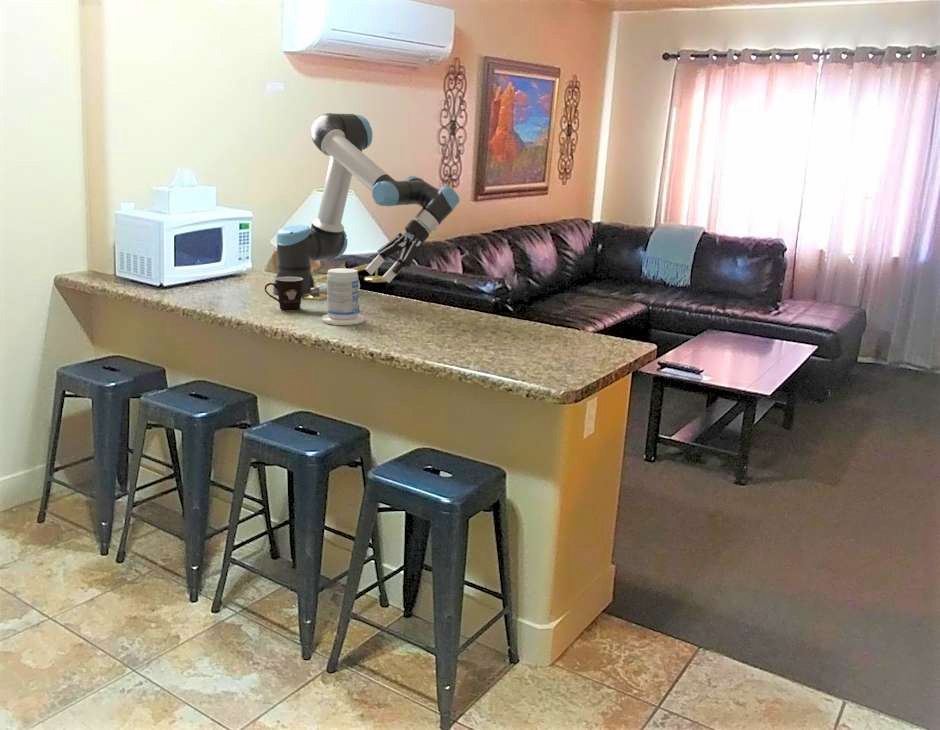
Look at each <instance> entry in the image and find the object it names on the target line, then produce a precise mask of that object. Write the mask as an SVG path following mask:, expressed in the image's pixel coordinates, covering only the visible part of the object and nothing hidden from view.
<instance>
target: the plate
mask: <svg viewBox="0 0 940 730" xmlns="http://www.w3.org/2000/svg"><path fill="white" fill-rule="evenodd" d="M321 322H322V323H323V322H324V323H323V324H325V323H327V324H326V325H329V324H332V325H331V326H336V325H351V326H354V325H353V324H358V325H360V324H359V323H361V324H363V323H365V317H364V315H361V314H358V317H356V318H354V319H346V320H340V319H332V318H330V317H329V316H328V313H327V314H323V315H322V316H321Z"/></svg>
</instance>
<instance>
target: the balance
mask: <svg viewBox="0 0 940 730" xmlns="http://www.w3.org/2000/svg"><path fill="white" fill-rule="evenodd" d="M370 263H371V262H369V263H365V264H362V265H359V266H355V267H351V268H350V269H355V270H357V271H358V272H360V271H364V270H365V269H366V268H367V267H368V265H369V264H370ZM378 269H379V268H378ZM378 269H377V270H376V271H375V272H374V275H367V276H365V277H364V278H363V279H364V281H365V282H369V283H388V282H387V281H386V280H385V279H384V278H383V276H384V275H379V274H378ZM313 279H314V287H312V288H310V293H309V294H304V295H302V296H301V299H302V300H304V301H305V300H306V301H324V300H327V293H326V294H325V293H322V292H321V293H320V291H321V290H320V287H317V283H321V282H324V281H327V274H326V275H321V276H318V277H315V278H313ZM358 312H360V304H358Z"/></svg>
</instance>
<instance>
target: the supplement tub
mask: <svg viewBox="0 0 940 730" xmlns="http://www.w3.org/2000/svg"><path fill="white" fill-rule="evenodd" d="M326 275H327V280H326V284H327V287H326V288H327V289H326V290H327V291H326V292H327V293H326V295H327V299H326V300H327V314H328V316H329V317H330V318H332V319H340V320H346V319H354V318H356V317H358V315H359V311H358V305H359V271H357V270H355V269H351V268H345V267H344V268H341V267H340V268H330V269H328V270H327V273H326Z"/></svg>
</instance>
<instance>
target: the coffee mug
mask: <svg viewBox="0 0 940 730" xmlns="http://www.w3.org/2000/svg"><path fill="white" fill-rule="evenodd" d="M275 278H276V277H275ZM276 282H277V284H274V282H269V283H267V284H265V285H264V291H265V293H266V294H267V295H268V296H269V297H270V298H271V299H273V300H276V301H277V302H278V304H279V309H281V310H280V311H283V310H285V311H284V312H295V311H296V310H297V311H300V309H301V303H302V296H301V294H302V284H303V278H300V277H279V278H276ZM270 285H272V286H273V285H274V286H275V287H276V289H277V290H278V294H277V295H278V298H276V297H275V296H273V295H271V294H270V293H269V291H268V290H267V288H268V286H270Z"/></svg>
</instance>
